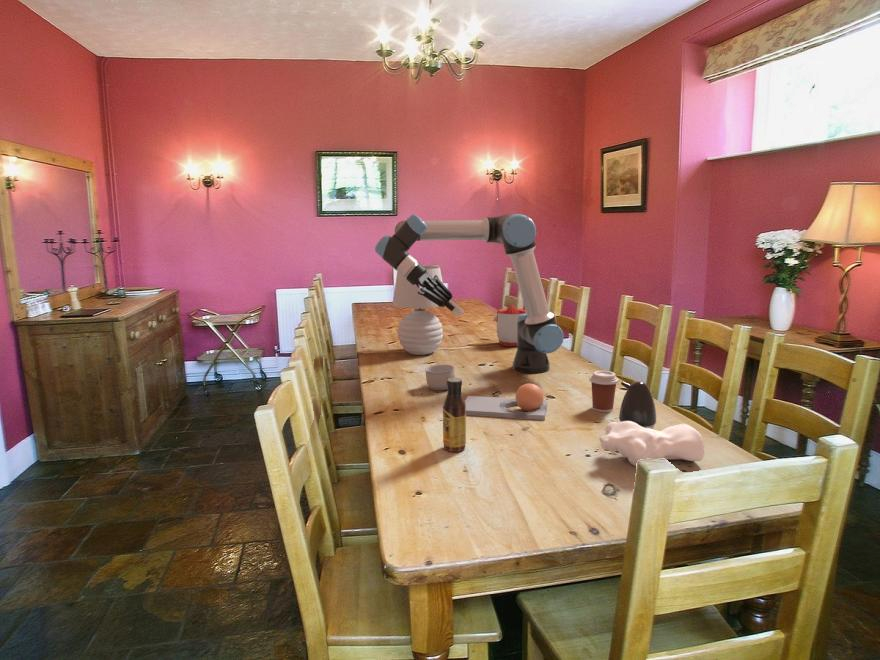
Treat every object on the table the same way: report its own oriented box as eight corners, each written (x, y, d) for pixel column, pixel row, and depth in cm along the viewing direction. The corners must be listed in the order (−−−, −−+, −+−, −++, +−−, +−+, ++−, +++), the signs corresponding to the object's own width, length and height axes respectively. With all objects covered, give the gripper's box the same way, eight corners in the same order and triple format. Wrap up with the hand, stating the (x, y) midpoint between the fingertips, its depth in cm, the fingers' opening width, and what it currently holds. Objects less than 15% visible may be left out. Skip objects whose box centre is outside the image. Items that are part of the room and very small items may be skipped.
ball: (533, 378, 190) (518, 399, 192) (520, 377, 182) (505, 399, 185) (553, 394, 185) (538, 416, 187) (541, 394, 178) (525, 417, 180)
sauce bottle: (442, 444, 159) (441, 375, 155) (464, 443, 159) (464, 375, 155) (444, 454, 152) (443, 382, 148) (467, 453, 153) (467, 381, 149)
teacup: (451, 393, 205) (451, 371, 204) (422, 392, 207) (422, 370, 206) (458, 382, 219) (458, 362, 217) (430, 381, 221) (430, 361, 219)
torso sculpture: (669, 449, 157) (584, 448, 153) (675, 414, 155) (588, 412, 151) (710, 477, 140) (614, 477, 135) (716, 439, 138) (620, 438, 134)
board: (459, 414, 183) (459, 409, 183) (468, 400, 197) (468, 395, 197) (544, 420, 177) (544, 415, 176) (547, 404, 191) (547, 400, 191)
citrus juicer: (493, 341, 291) (493, 302, 287) (527, 341, 289) (528, 302, 285) (491, 347, 276) (491, 307, 272) (528, 348, 273) (528, 307, 270)
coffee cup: (582, 406, 189) (583, 371, 186) (604, 402, 192) (606, 368, 190) (600, 415, 180) (601, 378, 178) (623, 411, 184) (625, 375, 182)
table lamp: (457, 350, 272) (456, 266, 265) (428, 361, 251) (426, 270, 244) (414, 344, 286) (412, 264, 278) (383, 354, 265) (379, 268, 257)
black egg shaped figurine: (625, 423, 173) (628, 374, 170) (660, 430, 166) (663, 380, 164) (612, 433, 165) (614, 382, 162) (648, 441, 159) (651, 389, 156)
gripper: (415, 270, 211) (463, 312, 210) (398, 284, 200) (448, 328, 200) (425, 256, 206) (474, 300, 205) (408, 270, 196) (460, 315, 195)
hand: (461, 314), depth 203 cm, fingers closed
